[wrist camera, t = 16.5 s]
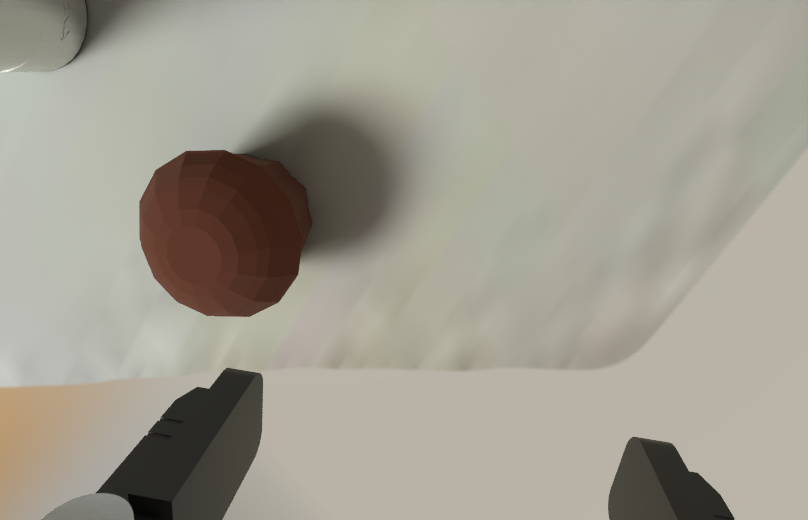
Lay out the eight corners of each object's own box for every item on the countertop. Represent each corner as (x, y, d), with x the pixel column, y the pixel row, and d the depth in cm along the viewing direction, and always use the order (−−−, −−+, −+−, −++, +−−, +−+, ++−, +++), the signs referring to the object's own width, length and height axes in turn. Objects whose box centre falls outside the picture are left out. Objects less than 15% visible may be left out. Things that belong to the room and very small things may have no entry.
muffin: (191, 120, 38) (102, 138, 28) (336, 152, 37) (293, 180, 28) (187, 265, 42) (108, 321, 33) (316, 294, 42) (273, 359, 32)
